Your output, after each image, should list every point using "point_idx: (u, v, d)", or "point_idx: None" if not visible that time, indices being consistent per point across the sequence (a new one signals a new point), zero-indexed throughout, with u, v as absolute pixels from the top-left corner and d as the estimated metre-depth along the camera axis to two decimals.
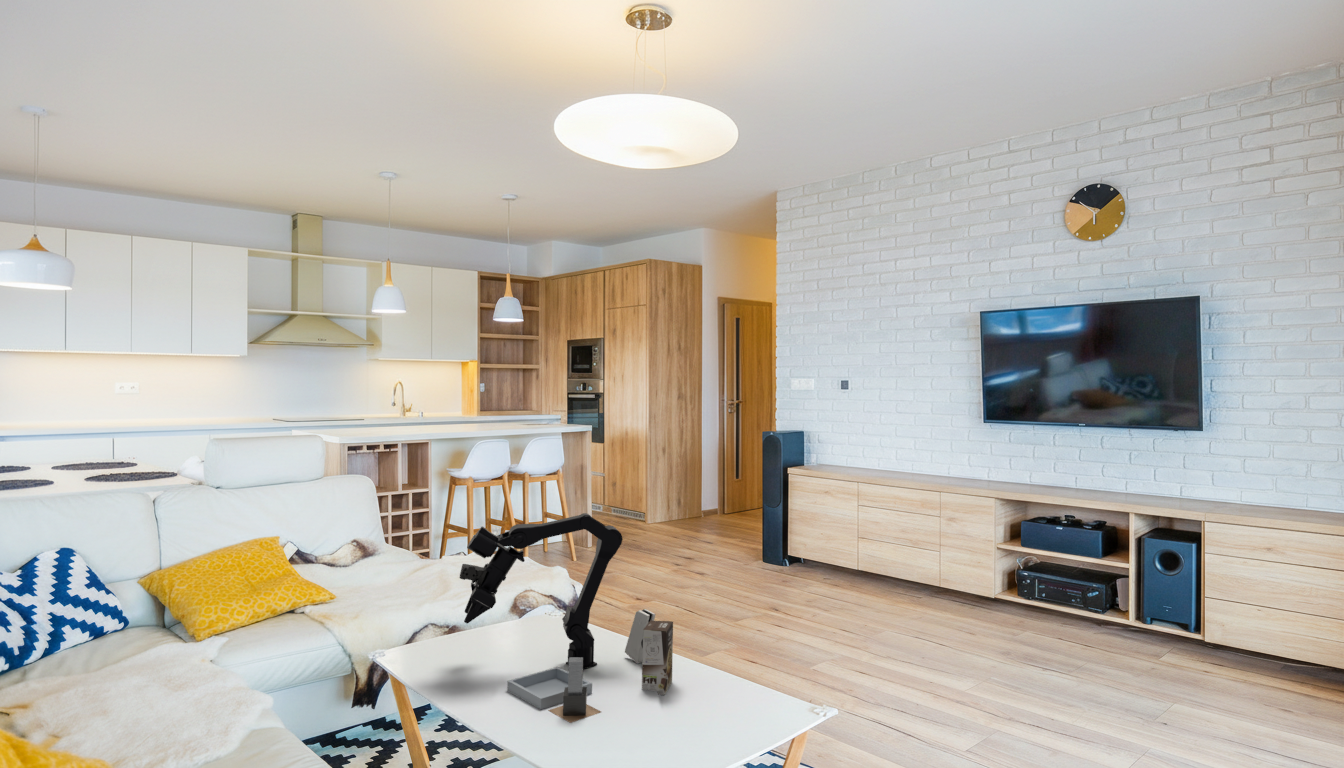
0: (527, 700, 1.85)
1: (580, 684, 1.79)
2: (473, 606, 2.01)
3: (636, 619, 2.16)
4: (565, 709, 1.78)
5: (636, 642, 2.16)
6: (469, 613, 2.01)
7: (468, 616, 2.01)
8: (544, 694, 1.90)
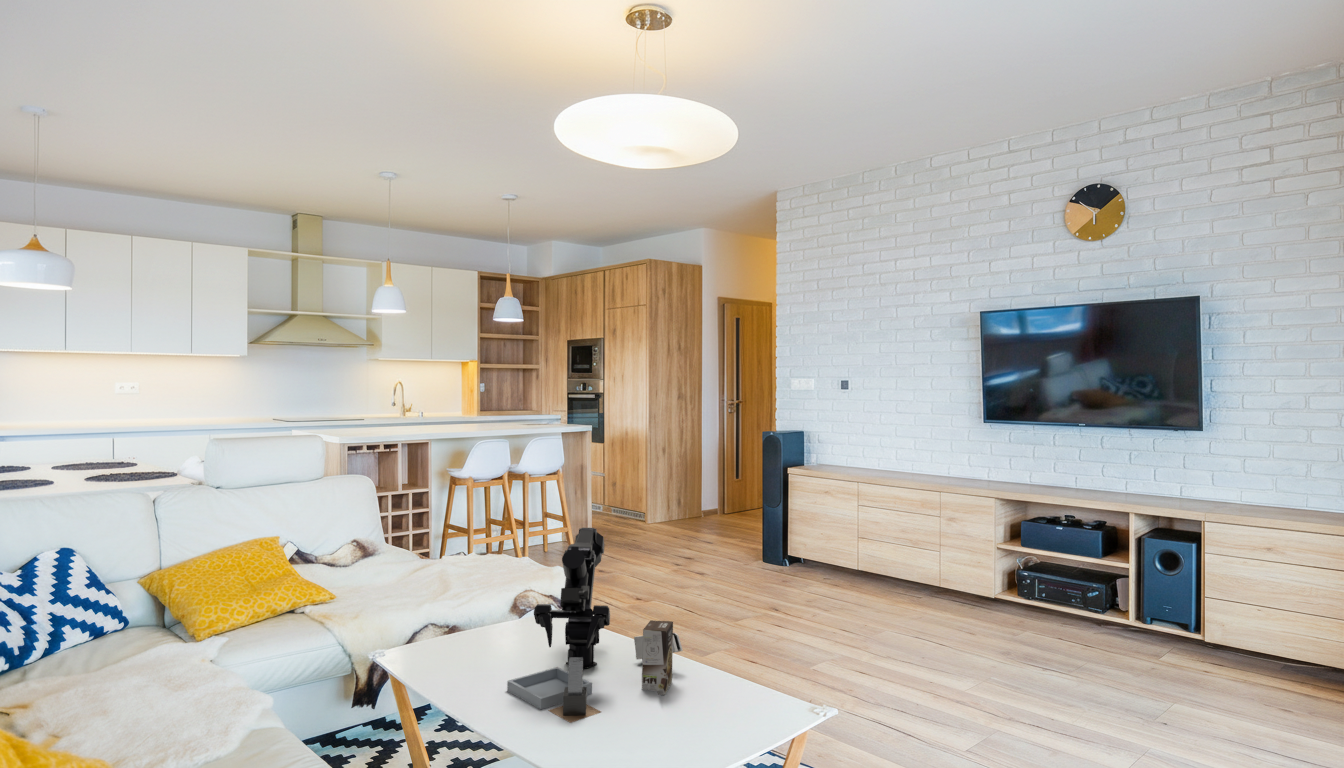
0: (527, 700, 1.85)
1: (580, 684, 1.79)
2: None
3: None
4: (565, 709, 1.78)
5: None
6: (592, 635, 1.89)
7: (590, 639, 1.89)
8: (544, 694, 1.90)
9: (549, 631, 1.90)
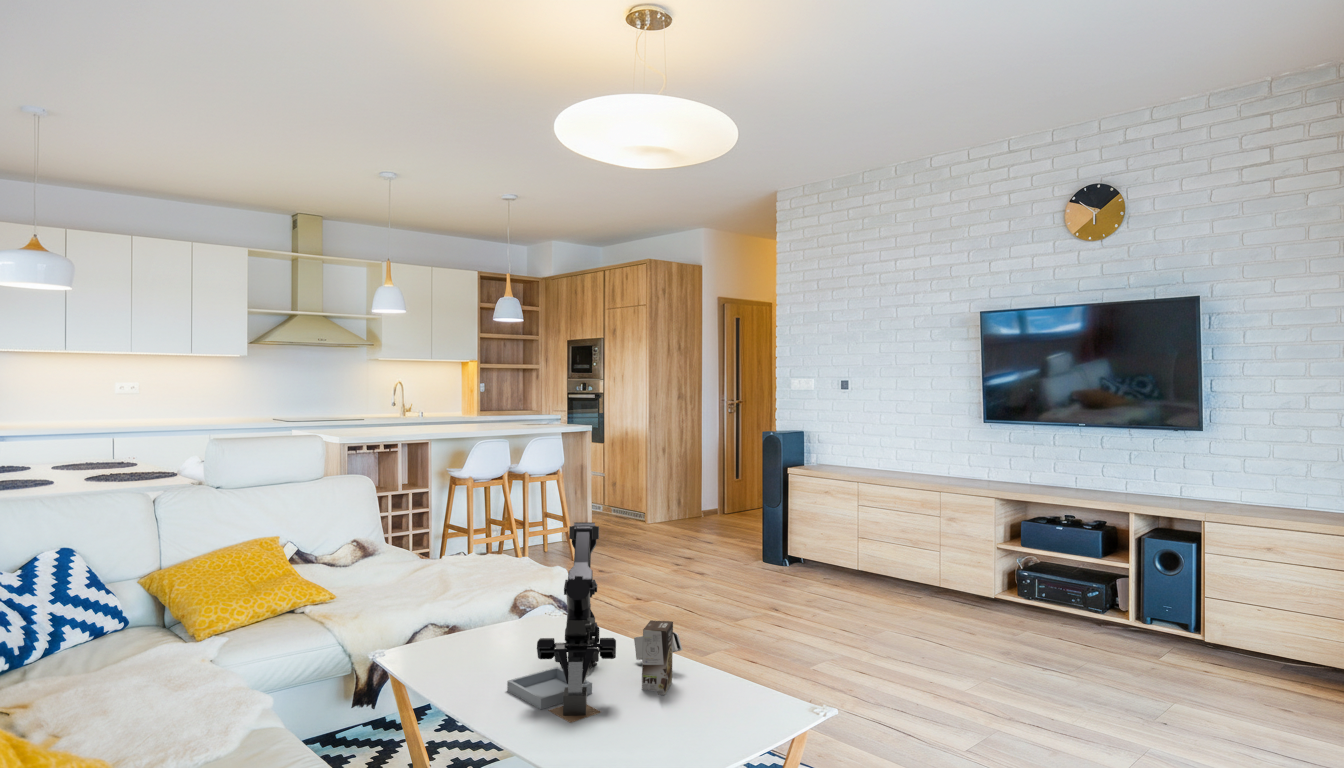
0: (527, 700, 1.85)
1: (580, 684, 1.79)
2: None
3: None
4: (565, 709, 1.78)
5: None
6: (587, 670, 1.81)
7: (586, 674, 1.80)
8: (544, 694, 1.90)
9: (566, 666, 1.81)
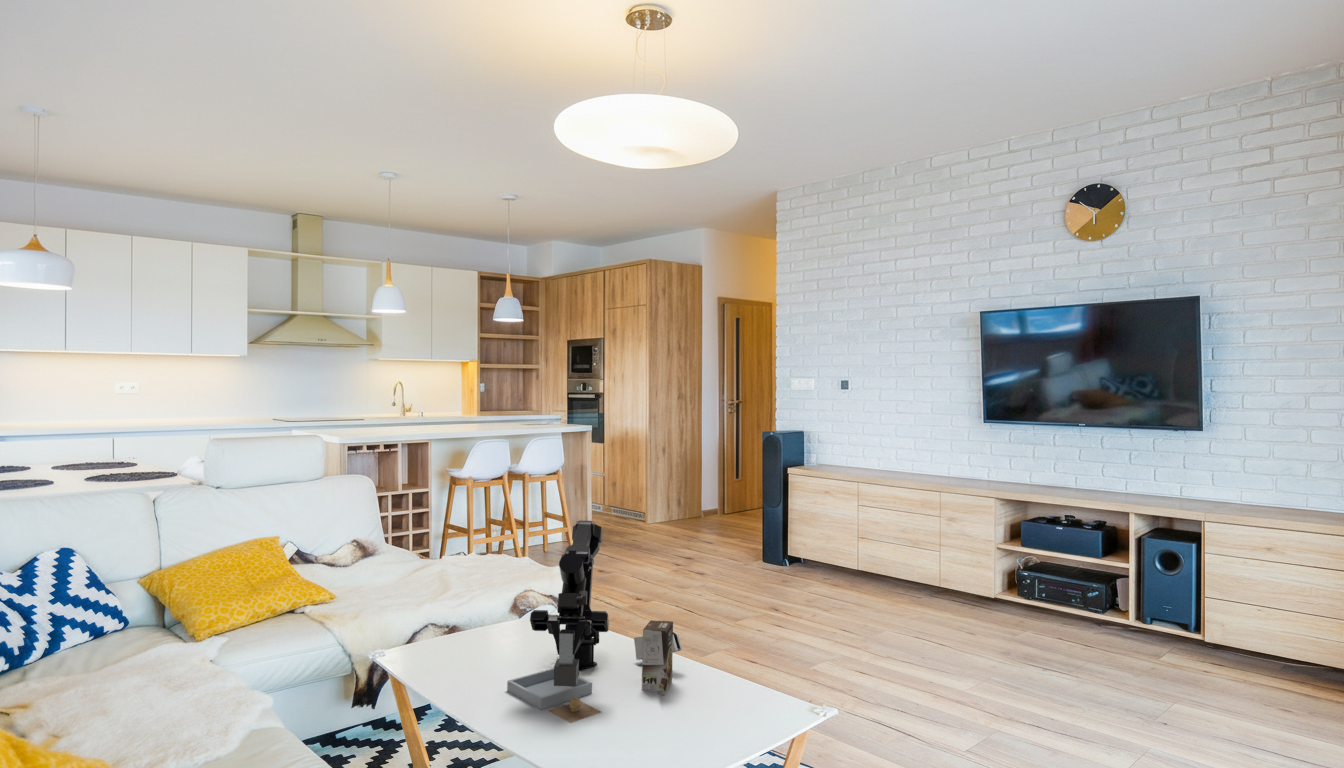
0: (527, 700, 1.85)
1: (571, 655, 1.82)
2: None
3: None
4: (556, 679, 1.81)
5: None
6: (578, 642, 1.84)
7: (577, 646, 1.83)
8: (544, 694, 1.90)
9: (558, 638, 1.84)
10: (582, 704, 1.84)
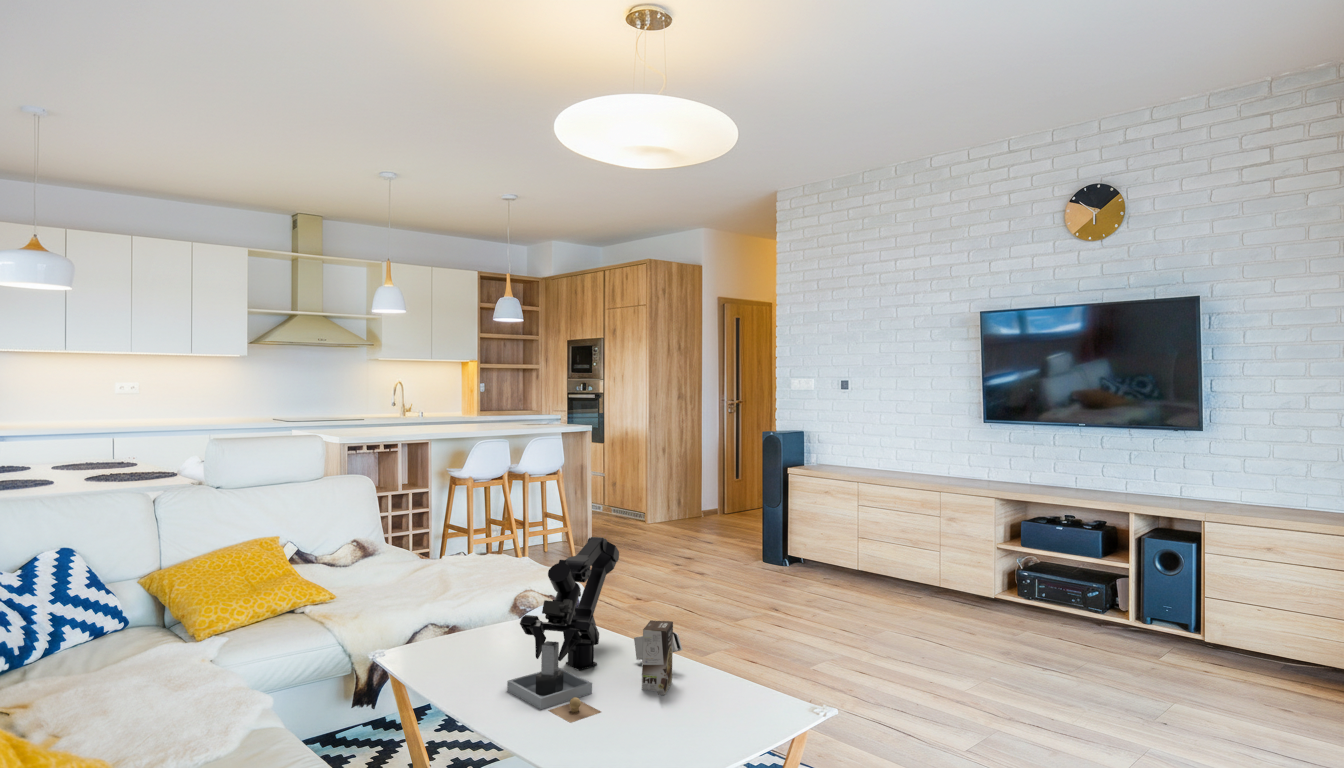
0: (527, 700, 1.85)
1: (552, 667, 1.90)
2: None
3: None
4: (537, 689, 1.90)
5: None
6: (565, 649, 1.91)
7: (563, 652, 1.91)
8: None
9: (538, 643, 1.93)
10: (582, 704, 1.84)
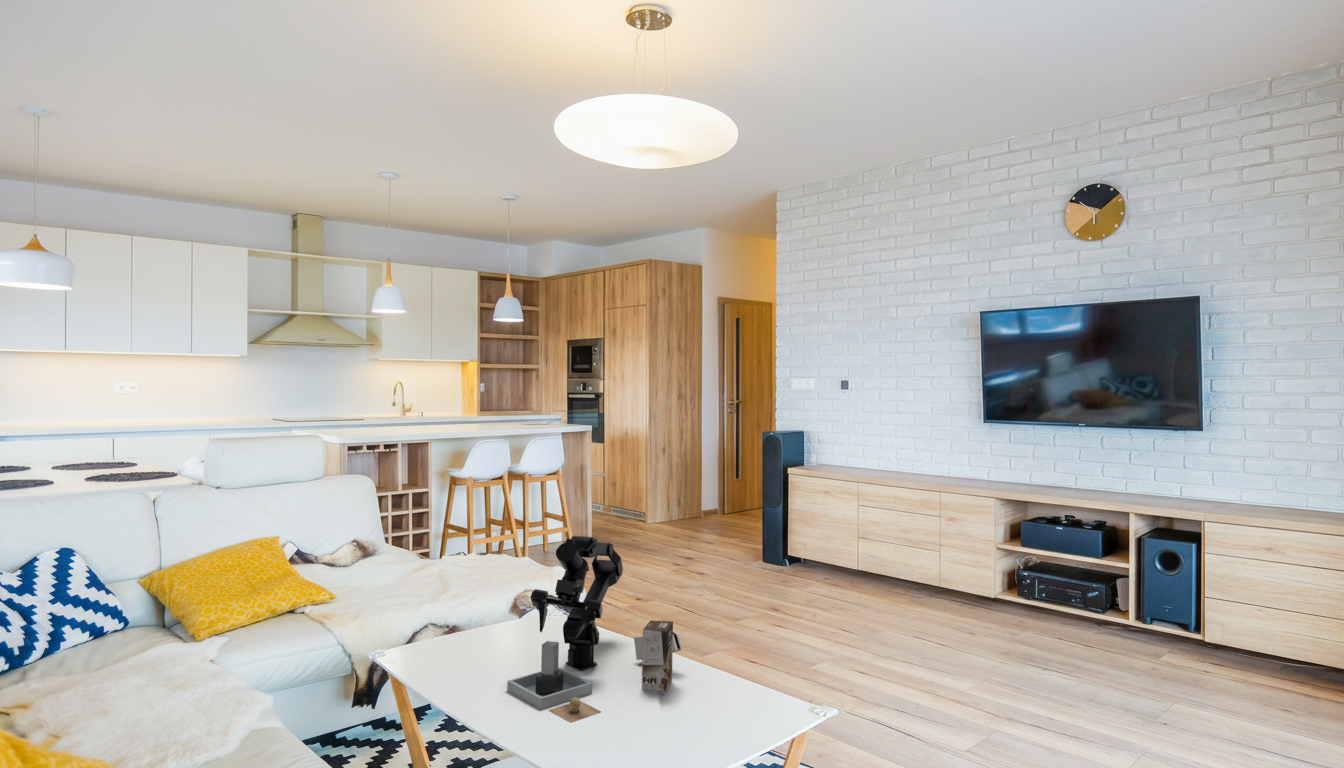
0: (527, 700, 1.85)
1: (552, 667, 1.90)
2: None
3: None
4: (537, 689, 1.90)
5: None
6: (581, 627, 1.99)
7: (579, 631, 1.98)
8: None
9: (542, 617, 2.00)
10: (582, 704, 1.84)
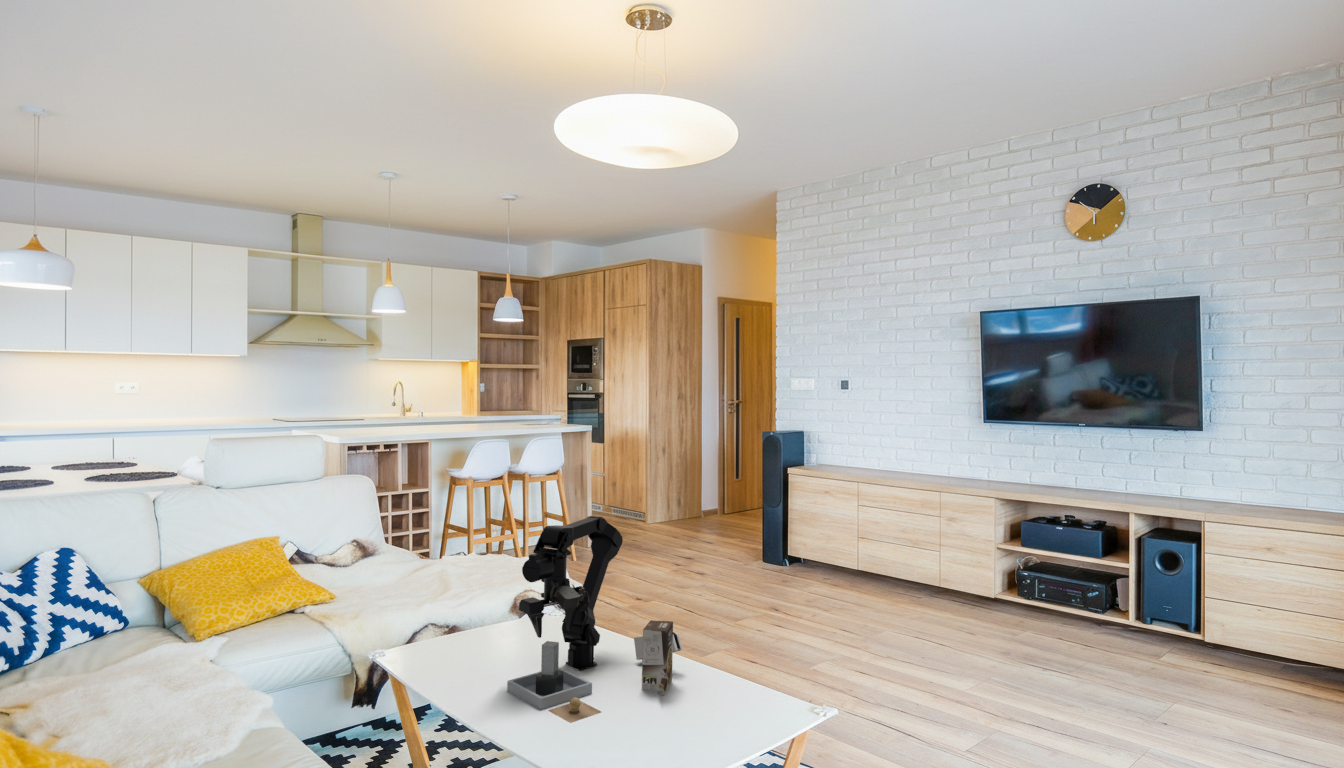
0: (527, 700, 1.85)
1: (552, 667, 1.90)
2: None
3: None
4: (537, 689, 1.90)
5: None
6: None
7: None
8: None
9: (540, 625, 1.99)
10: (582, 704, 1.84)
